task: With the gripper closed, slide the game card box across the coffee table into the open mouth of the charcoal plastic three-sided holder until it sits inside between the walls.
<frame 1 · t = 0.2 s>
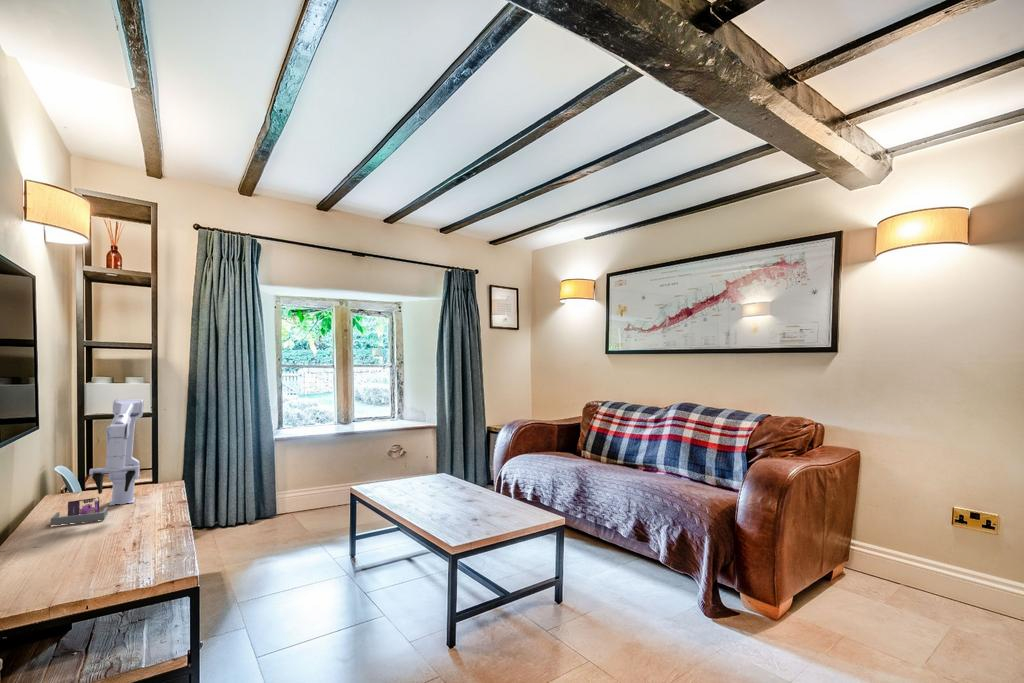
hand: (113, 492, 179), 10 cm above the table, tool pointing down, fingers open, 7 cm apart
game card: (82, 517, 181), on the table
holder: (80, 520, 176), on the table
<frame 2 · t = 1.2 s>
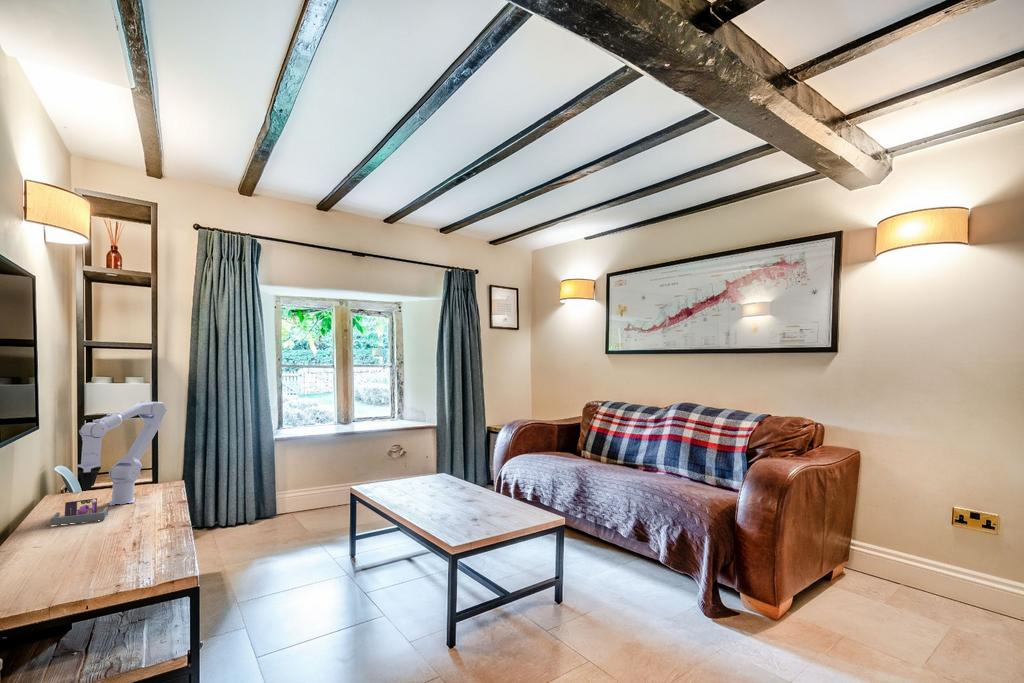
hand: (88, 487, 187), 9 cm above the table, tool pointing down, fingers open, 6 cm apart
game card: (80, 518, 180), on the table
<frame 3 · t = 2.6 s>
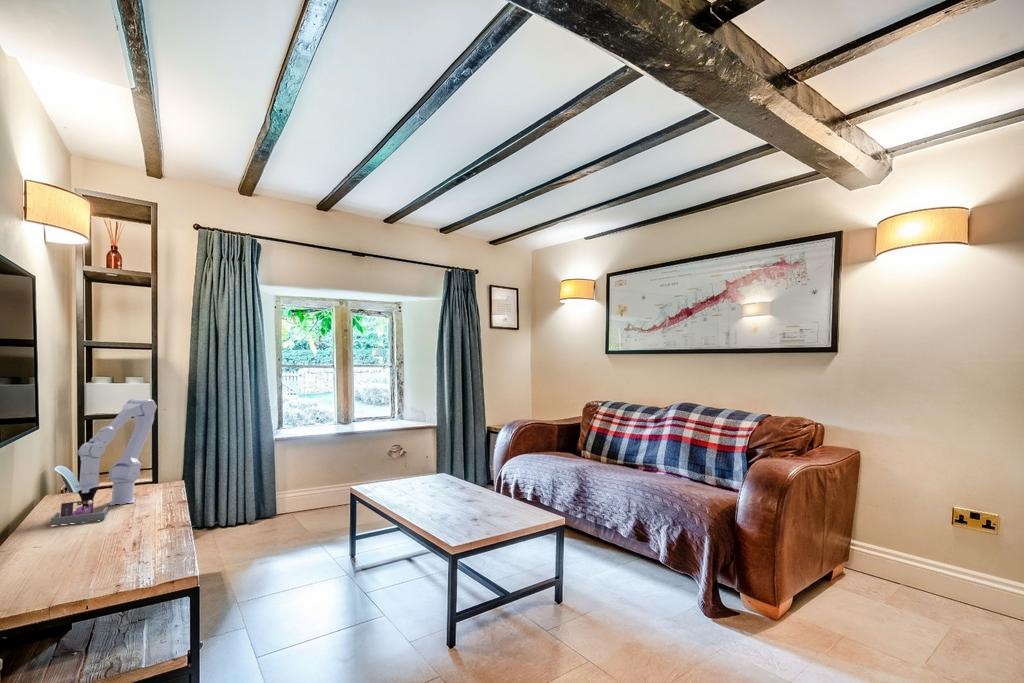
hand: (86, 507, 187), 2 cm above the table, tool pointing down, fingers closed
game card: (76, 519, 178), on the table
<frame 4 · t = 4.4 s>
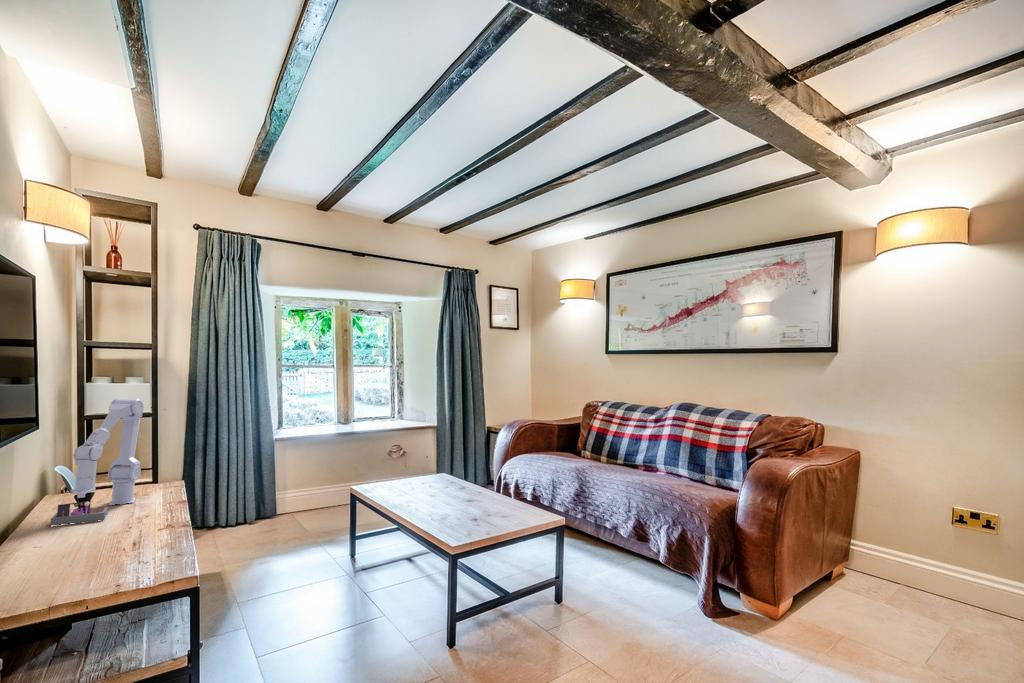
hand: (83, 513, 180), 1 cm above the table, tool pointing down, fingers closed
game card: (73, 520, 176), on the table, touching gripper
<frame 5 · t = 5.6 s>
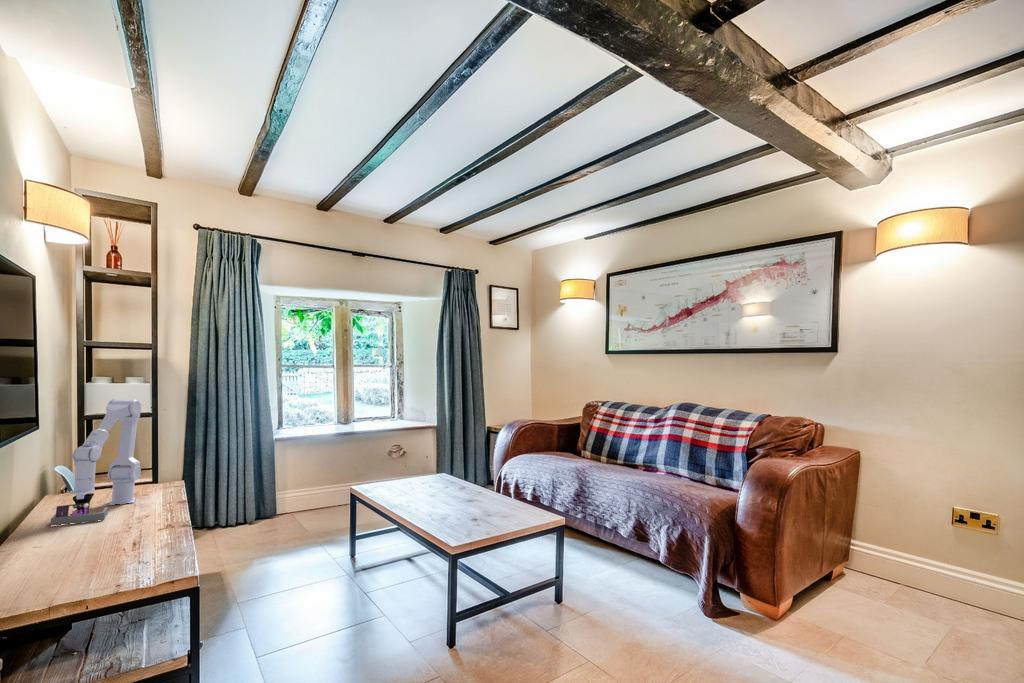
hand: (82, 514, 178), 1 cm above the table, tool pointing down, fingers closed
game card: (72, 522, 174), on the table
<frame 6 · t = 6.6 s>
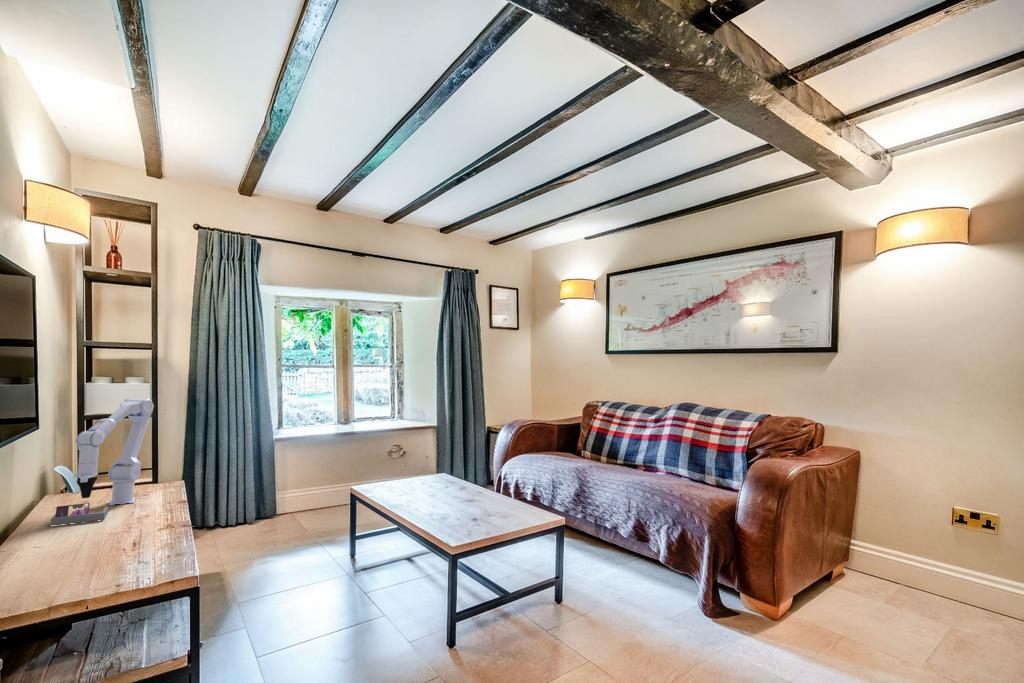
hand: (85, 497, 183), 7 cm above the table, tool pointing down, fingers closed
game card: (71, 523, 174), on the table, touching holder
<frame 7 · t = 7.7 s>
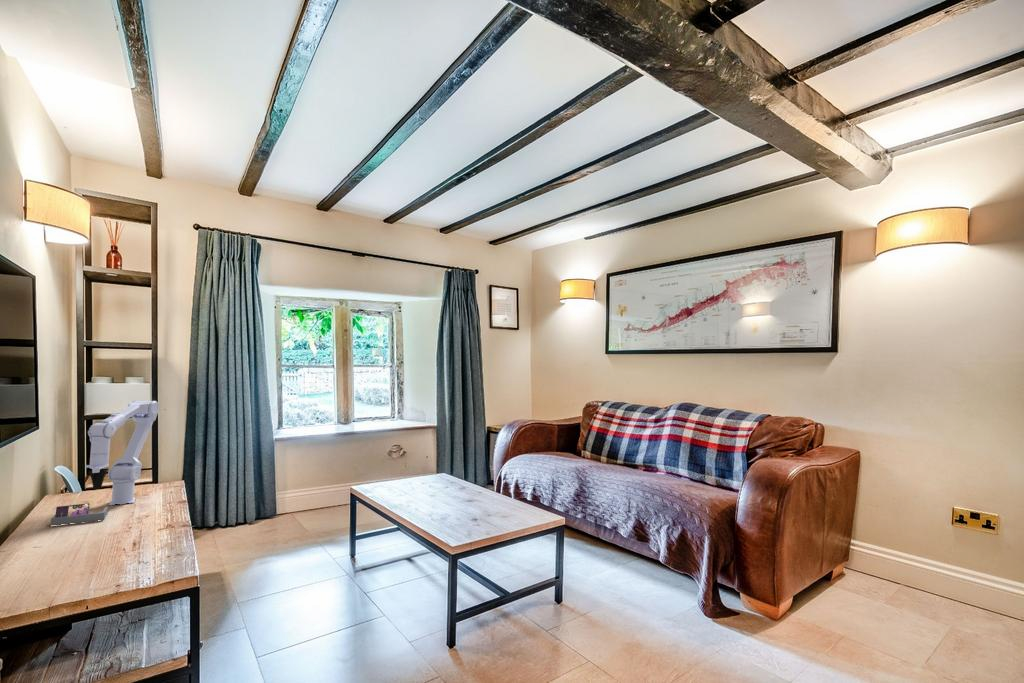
hand: (97, 488, 186), 9 cm above the table, tool pointing down, fingers closed
game card: (71, 523, 173), on the table
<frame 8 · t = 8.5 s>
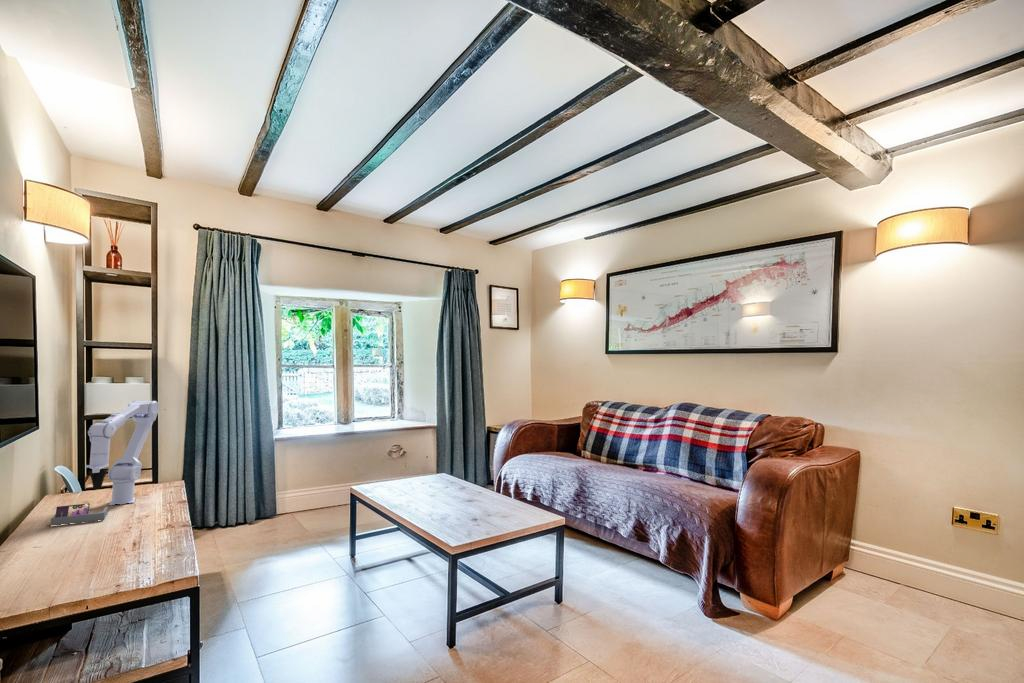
hand: (97, 488, 186), 9 cm above the table, tool pointing down, fingers closed
nothing on the table moved.
at the end: holder 0.0 cm off-centre on the holder, point 0.0 cm above the holder's base; game card inside the target area on the holder (2.6 cm from its centre), point 0.0 cm above the holder's base; game card tilted 0° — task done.
